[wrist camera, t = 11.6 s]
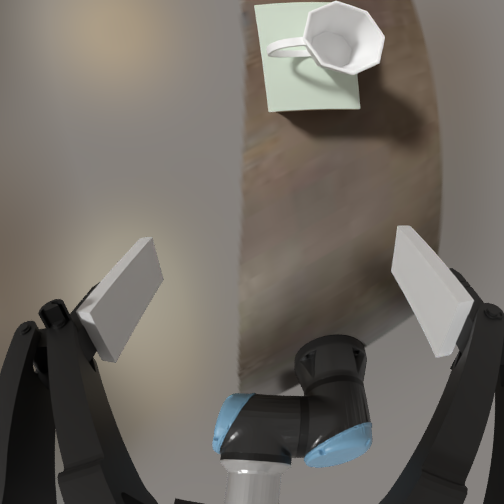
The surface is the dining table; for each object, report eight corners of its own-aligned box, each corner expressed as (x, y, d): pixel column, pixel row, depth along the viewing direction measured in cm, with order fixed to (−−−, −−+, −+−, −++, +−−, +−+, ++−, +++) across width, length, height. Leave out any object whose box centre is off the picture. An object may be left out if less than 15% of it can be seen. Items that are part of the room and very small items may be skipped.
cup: (365, 80, 25) (392, 74, 18) (274, 88, 26) (273, 82, 19) (353, 23, 21) (375, 1, 14) (261, 30, 23) (256, 7, 16)
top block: (351, 108, 30) (360, 109, 26) (269, 111, 31) (268, 112, 28) (339, 13, 24) (346, 3, 20) (256, 15, 25) (254, 5, 22)
